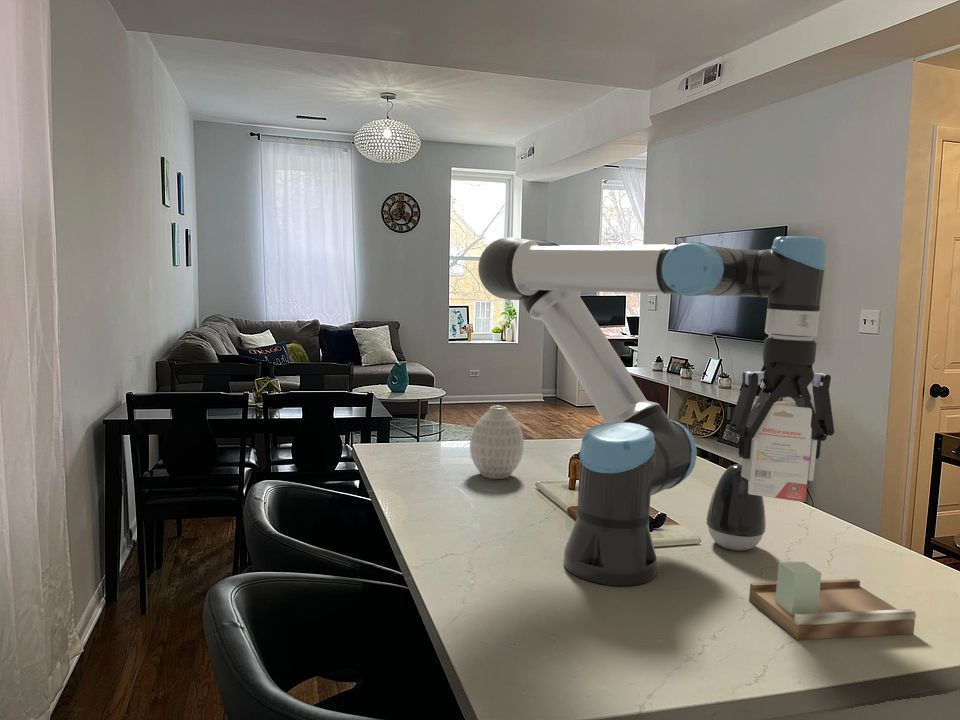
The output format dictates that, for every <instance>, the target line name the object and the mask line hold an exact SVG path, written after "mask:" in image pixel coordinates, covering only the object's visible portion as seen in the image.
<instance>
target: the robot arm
mask: <svg viewBox="0 0 960 720" xmlns="http://www.w3.org/2000/svg"><path fill="white" fill-rule="evenodd" d="M825 256H826V244H825V241H824V240H823V239H822V238H819V237H816V236H804V235H803V236H802V235H801V236H800V235H789V236H787V235H786V236H784V235H783V236H777V237H775V238H774V239H773V243H772V246H771V248H768V249H743V248H742V249H740V248H739V249H738V248H730V247H723V246H716V245H710V244H706V243H703V242H684V243H680V244H625V245H624V244H616V245H615V244H614V245H563V244H560V243H556V242H554V241H551V240H545V239H541V240H534V239H526V238H520V237H519V238H517V237H510V236H509V237H503V238H501V237H500V238H499V239H497V240H494V241H493V242H491V243H490V244H488V245H487V246H486V247H485V249H484V250H483V251H482V253H481V255H480V257H479V261H478V266H477V267H478V269H477V270H478V272H477V273H478V277H479V279H480V281H481V284H482V285H483V287H484V289H485V290H486V291H487V292H488V293H490V294H492V296H494V297H497V298H499V299H503V300H507V301H508V300H511V301H512V300H513V301H520V302H521V303H522V305H523V307H524V309H525V310H526V311H527V313H528V316H529V317H530V318H531V319H532V320H535V321H537V320H538V321H541V322H542V323H543V325H544V326H545V327H546V329H547V330H548V333H549V334H550V336H551V337H552V339H553V341H554V342H555V344H556V345H557V347H558V349H559V351H560V352H561V353H562V355H563V357H564V359H565V360H566V361H567V363H568V365H569V367H570V368H571V370H572V372H573V373H574V375H575V376H576V378H577V380H578V381H579V383H580V384H581V386H582V387H583V390H584V391H585V393H586V394H587V396H588V397H589V399H590V400H591V403H592V404H593V405H594V407H595V409H596V410H597V412H598V414H599V416H600V417H601V419H602V420H603V422H604V423H600V424H596V425H594V426H591V427H590V428H589V429H587V430H586V431H585V432H584V434H583V435H582V439H581V447H580V448H579V455H578V456H579V473H578V477H579V478H578V495H577V512H576V514H577V515H576V521H575V523H574V525H573V528H572V530H571V533H570V536H569V538H568V540H567V542H566V546H565V548H564V551H563V552H564V554H563V566H564V568H565V569H566V570H567V571H569V572H570V573H571V574H573V575H574V576H576V577H578V578H579V579H580V578H581V579H582V580H585V581H588V582H591V583H596V584H600V585H602V584H603V585H607V586H623V587H624V586H636V585H642V584H646V583H648V582H650V581H652V580H653V579H654V578H655V577H656V575H657V569H658V567H657V566H658V559H657V554H656V550H655V546H654V543H653V539H652V534H651V531H650V528H649V527H650V526H649V525H650V524H649V523H650V522H649V521H650V510H651V498H652V497H651V496H653V495H656V494H658V493H660V492H663V491H664V490H670V489H673V488H674V487H677V485H680V483H682V482H683V481H685V480H686V479H687V478H688V477H689V476H690V475H691V474H692V472H693V470H694V468H695V466H696V463H697V462H696V461H697V456H698V455H697V453H698V452H697V451H698V450H697V445H696V442H695V441H696V440H695V439H694V436H693V434H692V433H691V432H690V431H689V429H688V428H687V427H686V426H685V425H684V424H682V423H680V422H677V421H675V420H672V419H670V418H669V417H668V415H667V414H666V412H665V411H664V409H663V407H662V406H661V404H659V402H653V401H649V400H647V398H646V397H645V395H644V394H643V392H642V390H641V389H640V387H639V386H638V384H637V383H636V381H635V379H634V378H633V376H632V375H631V373H630V372H629V371H628V369H627V367H626V366H625V364H624V363H623V361H622V360H621V358H620V356H619V354H618V353H617V352H616V350H615V349H614V347H613V346H612V344H611V342H610V341H609V340H608V338H607V337H606V335H605V333H604V332H603V330H602V329H601V327H600V324H598V322H597V321H596V320H595V318H594V316H593V315H592V313H591V311H590V310H589V308H588V307H587V305H586V304H585V302H584V301H583V299H582V297H581V294H582V292H591V293H593V292H594V293H595V292H597V293H625V294H626V293H630V294H631V293H632V294H659V295H660V294H662V295H663V294H666V295H667V294H669V295H679V296H680V295H683V296H686V297H689V296H691V297H692V296H694V297H695V296H696V297H697V296H714V297H715V296H716V297H721V296H723V297H724V296H726V297H727V296H729V297H751V298H752V297H755V298H767V305H766V306H767V307H766V317H765V326H764V327H765V328H764V333H765V334H767V335H768V337H765V339H763V350H762V361H763V365H762V368H761V369H760V370H759V371H749V370H745V371H743V372H742V386H741V390H740V392H739V394H738V395H739V396H738V399H737V400H736V401H737V402H736V404H735V406H734V411H733V414H732V417H731V420H730V423H729V426H728V430H729V431H730V432H731V433H733V434H736V435H737V436H739V447H738V455H739V457H740V458H742V464H741V465H742V471H741V477H743V478H745V479H747V480H749V481H755V472H756V461H757V450H758V440H757V439H755V438H753V437H754V436H755V434H756V432H757V431H758V429H759V427H760V426H761V424H762V422H763V421H764V419H765V417H766V416H767V414H768V412H769V410H770V409H771V407H772V405H773V404H775V403H777V402H778V400H780V398H782V399H784V398H788V397H789V398H791V399H792V400H793V401H794V404H795V405H796V406H795V407H804V408H811V410H812V418H811V428H812V434H811V446H810V457H809V468H808V479H807V482H809V481H811V482H814V478H815V477H814V475H815V467H816V460H818V459H819V457H820V456H821V455H820V454H821V453H820V452H821V445H822V441H823V442H824V441H826V440H827V438H828V436H830V437H831V436H833V435H834V434H835V426H834V425H835V424H834V417H833V413H832V412H833V411H832V404H831V396H830V395H831V394H830V385H831V380H832V376H831V375H830V374H829V373H823V372H814V370H813V365H814V363H815V362H816V354H817V342H816V340H813V338H816V337H817V336H818V334H819V333H818V332H819V322H820V312H821V302H822V301H821V299H822V293H823V284H824V283H823V282H824V276H825V275H824V274H825V271H826V266H825V261H826V260H825V258H826V257H825ZM762 382H763V386H762V387H761V390H760V391H759V393H758V388H759V386H760V385H761V384H762ZM810 384H811V386H812V395H811V393H810V391H809V389H808V387H809V385H810ZM757 394H758V398H757V400H756V402H755V399H756V396H757ZM812 396H813V403H814V406H813V404H812V401H811V400H812ZM754 402H755V403H754ZM758 403H759V405H758V406H757V407H756V405H757V404H758Z"/></svg>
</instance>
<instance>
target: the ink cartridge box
mask: <svg viewBox="0 0 960 720" xmlns="http://www.w3.org/2000/svg"><path fill="white" fill-rule="evenodd" d="M758 405H759V403H758V404H757V405H756V407H757V406H758ZM781 412H785V413H786V414H790V415H792V416H791V417H789V416H787V417H786V416H778V415H774V413H781ZM811 418H812V410H811V408H804V407H797V406H793V405H784V404H775V403H774V404H773V405H772V407H771V409H770V410H769V412H768V414H767V416H766V417H765V419H764V421H763V422H762V424H761V426H760V427H759V429H758V431H757V432H756V434H755V436H754V437H753V438H755V439H757V440H758V450H757V461H756V472H755V481H748V494H750V495H757V496H763V498H764V497H765V498H774V499H781V500H787V501H793V502H794V501H795V502H801V503H804V502H806V501H807V500H806V499H807V490H808V480H807V479H808V468H809V457H810V446H811V434H812V428H811Z"/></svg>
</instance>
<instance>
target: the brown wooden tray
mask: <svg viewBox="0 0 960 720" xmlns="http://www.w3.org/2000/svg"><path fill="white" fill-rule="evenodd" d="M749 586H750V587H749V598H748V601H749V602H750V603H751V604H752V605H753V606H755V608H757V609H758V610H760V611H761V612H762V613H763V614H765V615H766V616H767V617H768V618H769V619H770V620H772V621H773V622H774V623H776V624H777V625H778V626H779V627H780V628H782V629H783V630H784V631H785V632H786V633H787V634H789V635H790V636H791V637H792V638H794V640H796V641H797V640H798V641H804V640H817V639H818V640H819V639H820V640H822V639H839V638H840V639H841V638H843V639H844V638H856V637H875V636H876V637H877V636H880V637H881V636H893V635H896V636H897V635H899V636H900V635H914V633H915V625H916V624H915V623H916V619H917V613H916V611H915V610H914V609H912V608H903V609H902V608H901V609H898V608H896V607H895V606H893V605H892V604H890V603H888V602H886V601H885V600H884V599H881V598H880V597H878V596H876V595H875V594H873V593H872V592H870V591H868V590H867V589H865V588H864V587H862V586H861V580H859V579H858V578H852V579H851V578H850V579H849V578H848V579H823V580H822V579H821V583H820V594H819V604H818V613H812V614H795V615H791V614H789V613H788V612H787V611H785V610H784V609H783V608H782V607H780V606H779V605H778V604H776V603H775V598H776V587H777V581H774V582H773V581H770V582H769V581H768V582H765V581H764V582H750V583H749Z"/></svg>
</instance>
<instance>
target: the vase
mask: <svg viewBox="0 0 960 720" xmlns="http://www.w3.org/2000/svg"><path fill="white" fill-rule="evenodd" d="M469 439H470V440H469V452H470V457H471V458H470V459H472V463H473V464H474V466H475V468H476V470H477V471H478V472H479V474H481V476H482V477H484V478H485V479H489V480H490V479H491V480H504V479H507V478H509V477H510V476H511V475H512V474H513V473H514V472H515V471H516V470H517V468H518V467H519V465H520V463H521V461H522V458H523V455H524V449H525V443H524V442H525V441H524V435H523V432H522V428H521V426H520V424H519V422H518V421H517V419H516V418H515V417H514V416H513V415H512V413H511V412H509V410H508V407H506V406H503V405H491V406H490V407H489V409H488V410H487V412H485V413H484V414H482V415H481V416H480V418H479V419H478V420H477V422H475V425H474V427H473V428H472V431H471V433H470V438H469Z"/></svg>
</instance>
